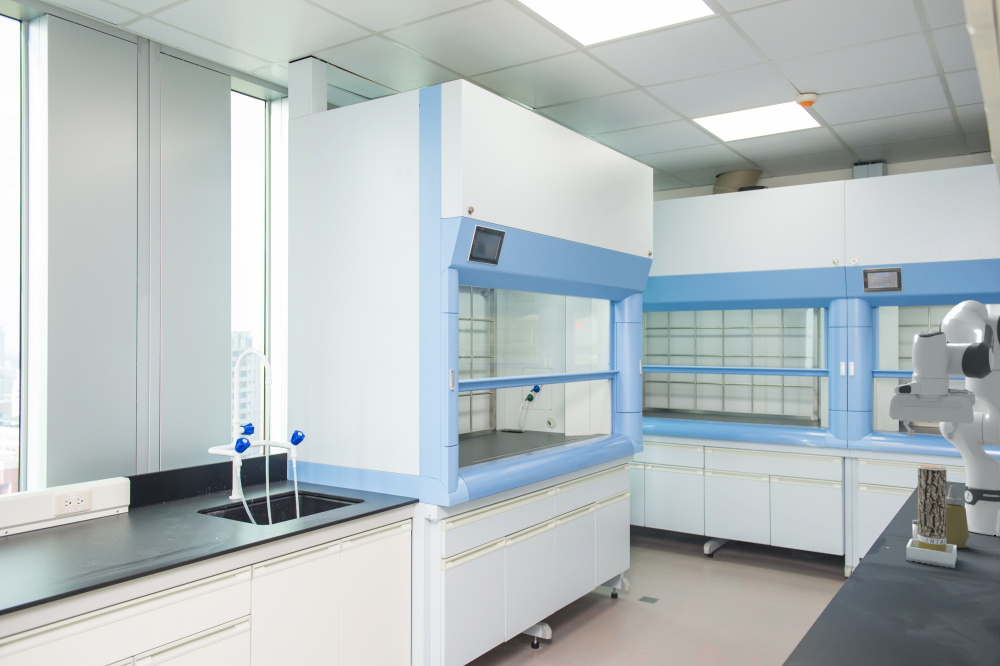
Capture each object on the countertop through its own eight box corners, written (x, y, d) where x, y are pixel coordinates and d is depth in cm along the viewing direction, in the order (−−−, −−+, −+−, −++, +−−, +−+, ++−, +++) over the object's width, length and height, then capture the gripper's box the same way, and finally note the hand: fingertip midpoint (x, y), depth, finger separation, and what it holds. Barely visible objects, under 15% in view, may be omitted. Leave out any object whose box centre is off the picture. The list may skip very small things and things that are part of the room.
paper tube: (912, 552, 195) (912, 464, 196) (934, 552, 195) (935, 464, 196) (928, 559, 188) (928, 468, 189) (952, 559, 188) (952, 468, 189)
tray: (910, 551, 199) (910, 538, 199) (956, 558, 192) (956, 545, 192) (906, 560, 190) (906, 546, 190) (954, 568, 183) (954, 554, 183)
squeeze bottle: (974, 550, 201) (973, 488, 202) (943, 548, 203) (943, 487, 204) (961, 543, 209) (961, 484, 210) (932, 541, 211) (932, 482, 212)
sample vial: (920, 539, 214) (920, 519, 214) (926, 541, 211) (926, 522, 211) (909, 538, 214) (909, 519, 214) (916, 541, 211) (916, 521, 211)
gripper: (975, 389, 189) (975, 439, 189) (890, 386, 201) (891, 434, 201) (974, 390, 184) (975, 441, 184) (888, 387, 196) (888, 435, 196)
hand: (930, 437), depth 192 cm, fingers open, 8 cm apart
